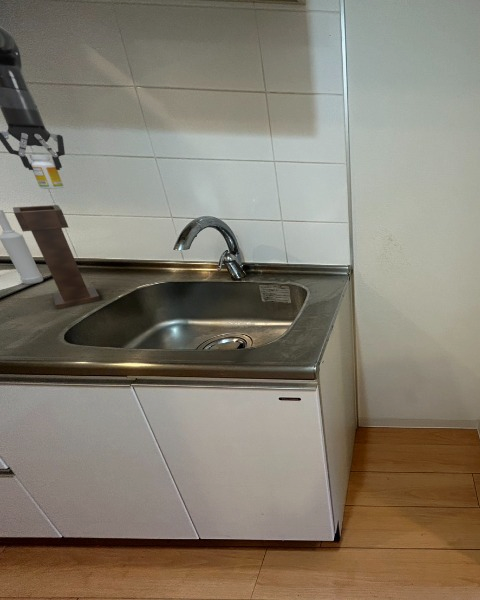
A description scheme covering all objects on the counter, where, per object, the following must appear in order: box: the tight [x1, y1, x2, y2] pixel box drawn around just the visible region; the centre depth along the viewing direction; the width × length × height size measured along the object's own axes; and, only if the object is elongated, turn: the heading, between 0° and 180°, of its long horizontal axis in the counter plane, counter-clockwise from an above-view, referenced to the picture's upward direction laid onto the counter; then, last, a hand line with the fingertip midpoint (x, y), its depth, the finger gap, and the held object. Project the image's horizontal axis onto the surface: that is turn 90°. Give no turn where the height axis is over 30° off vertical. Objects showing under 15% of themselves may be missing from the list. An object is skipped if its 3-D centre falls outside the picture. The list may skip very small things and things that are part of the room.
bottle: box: [0, 209, 44, 285], centre depth 104 cm, size 5×5×25 cm
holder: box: [12, 204, 101, 310], centre depth 94 cm, size 10×10×29 cm
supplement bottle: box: [29, 154, 64, 190], centre depth 97 cm, size 5×5×10 cm
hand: (44, 169), depth 97 cm, fingers closed on supplement bottle, 5 cm apart
